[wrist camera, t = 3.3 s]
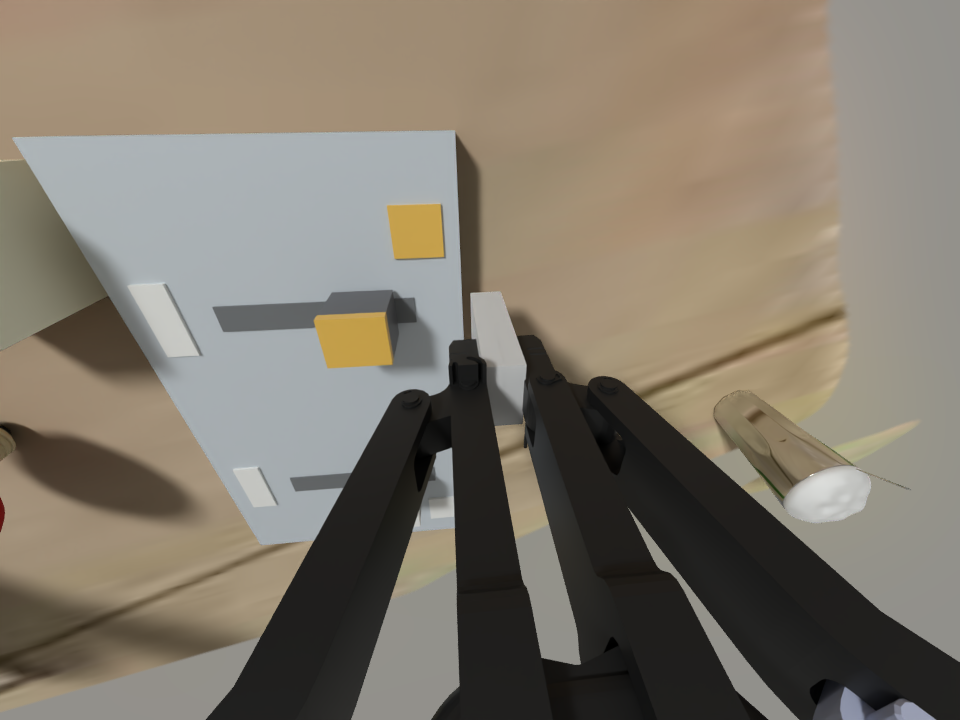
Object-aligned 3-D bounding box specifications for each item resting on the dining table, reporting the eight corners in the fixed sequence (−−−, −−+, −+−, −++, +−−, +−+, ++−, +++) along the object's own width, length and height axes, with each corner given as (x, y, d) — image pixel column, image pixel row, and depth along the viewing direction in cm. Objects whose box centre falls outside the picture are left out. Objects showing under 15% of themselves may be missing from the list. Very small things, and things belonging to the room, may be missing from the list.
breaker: (342, 336, 19) (327, 368, 17) (331, 292, 18) (313, 320, 16) (399, 333, 20) (392, 364, 17) (392, 289, 18) (384, 316, 16)
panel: (270, 522, 31) (260, 547, 29) (58, 135, 16) (7, 137, 14) (469, 505, 32) (471, 528, 30) (453, 130, 17) (455, 130, 15)
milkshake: (785, 382, 27) (936, 496, 19) (735, 432, 30) (849, 552, 21) (740, 367, 26) (881, 481, 18) (692, 421, 29) (796, 542, 20)
